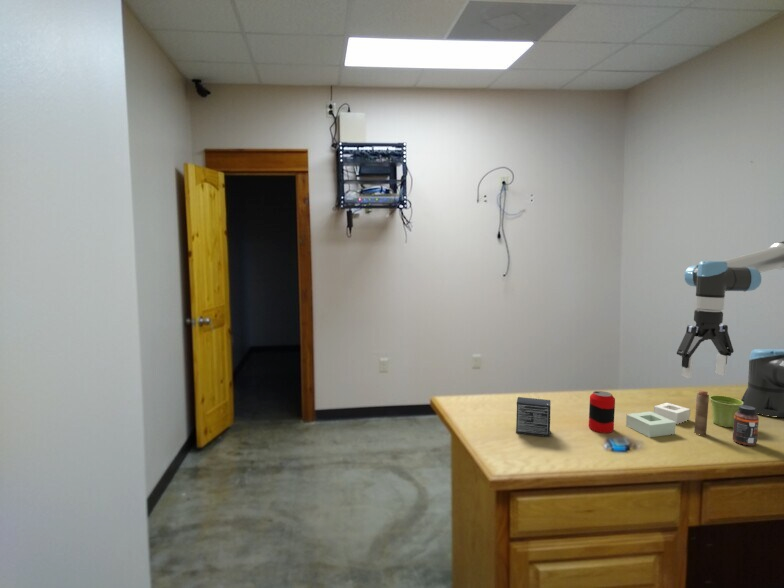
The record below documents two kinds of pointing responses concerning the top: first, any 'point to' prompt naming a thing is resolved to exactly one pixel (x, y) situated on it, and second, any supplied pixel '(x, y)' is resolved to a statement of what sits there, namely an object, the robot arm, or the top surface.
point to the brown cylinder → (701, 412)
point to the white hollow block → (673, 412)
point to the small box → (533, 416)
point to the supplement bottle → (745, 426)
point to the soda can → (601, 412)
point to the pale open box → (650, 424)
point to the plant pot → (724, 409)
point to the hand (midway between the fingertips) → (703, 376)
